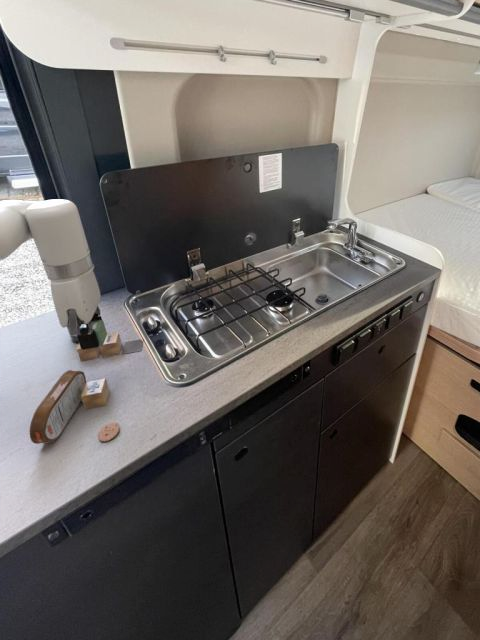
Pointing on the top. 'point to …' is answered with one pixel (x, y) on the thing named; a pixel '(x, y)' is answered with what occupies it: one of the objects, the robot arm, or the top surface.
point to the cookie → (108, 431)
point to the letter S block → (98, 330)
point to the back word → (110, 348)
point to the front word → (95, 393)
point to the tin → (57, 407)
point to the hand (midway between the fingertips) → (93, 339)
